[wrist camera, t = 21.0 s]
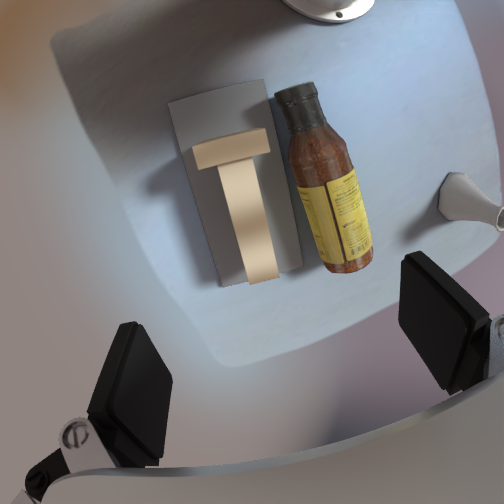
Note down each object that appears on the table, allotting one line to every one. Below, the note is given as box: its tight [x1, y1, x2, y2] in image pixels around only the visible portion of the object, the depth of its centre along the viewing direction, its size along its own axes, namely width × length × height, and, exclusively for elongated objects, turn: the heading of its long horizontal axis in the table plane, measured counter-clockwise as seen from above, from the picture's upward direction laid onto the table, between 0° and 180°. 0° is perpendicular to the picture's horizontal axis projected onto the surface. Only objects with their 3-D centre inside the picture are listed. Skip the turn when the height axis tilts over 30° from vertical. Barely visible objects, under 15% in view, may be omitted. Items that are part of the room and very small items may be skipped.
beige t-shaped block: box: [192, 128, 280, 285], centre depth 29 cm, size 14×6×7 cm, turn 13°
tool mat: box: [168, 79, 304, 287], centre depth 32 cm, size 22×10×1 cm, turn 13°
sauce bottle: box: [274, 82, 373, 273], centre depth 29 cm, size 6×6×20 cm
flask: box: [438, 172, 504, 232], centre depth 30 cm, size 7×7×10 cm
